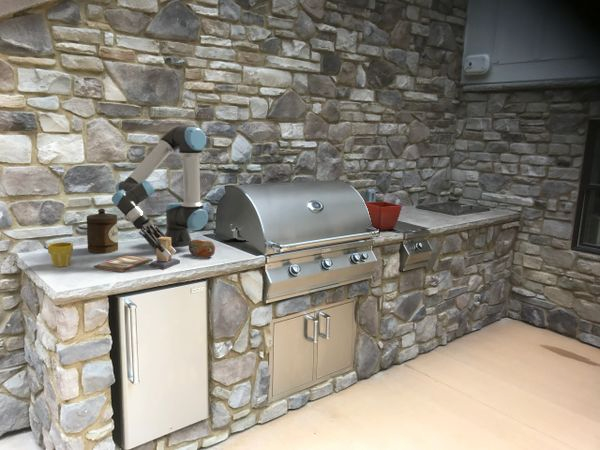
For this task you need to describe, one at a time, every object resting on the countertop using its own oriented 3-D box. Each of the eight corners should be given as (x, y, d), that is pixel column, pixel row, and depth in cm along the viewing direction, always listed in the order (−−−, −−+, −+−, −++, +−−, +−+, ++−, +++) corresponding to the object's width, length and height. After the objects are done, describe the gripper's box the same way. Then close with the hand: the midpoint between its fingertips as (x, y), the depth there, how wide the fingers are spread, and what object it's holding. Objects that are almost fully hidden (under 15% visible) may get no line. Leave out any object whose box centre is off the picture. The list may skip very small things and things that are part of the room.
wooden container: (119, 252, 252) (117, 210, 248) (87, 254, 247) (85, 211, 242) (117, 245, 266) (116, 205, 261) (88, 247, 260) (85, 206, 256)
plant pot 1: (50, 262, 230) (49, 242, 229) (74, 261, 234) (73, 241, 232) (47, 268, 221) (46, 247, 219) (73, 267, 225) (71, 246, 223)
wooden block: (161, 258, 236) (161, 236, 234) (171, 259, 235) (171, 237, 233) (156, 261, 231) (156, 238, 229) (166, 262, 230) (166, 239, 228)
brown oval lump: (188, 254, 253) (188, 238, 252) (192, 253, 256) (192, 237, 254) (212, 258, 247) (212, 242, 245) (216, 257, 250) (216, 241, 248)
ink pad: (164, 260, 241) (164, 256, 240) (179, 262, 238) (179, 258, 237) (148, 266, 230) (148, 262, 229) (164, 269, 227) (164, 265, 226)
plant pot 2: (400, 229, 334) (402, 205, 331) (378, 232, 324) (380, 207, 321) (382, 224, 350) (384, 201, 347) (361, 226, 341) (362, 202, 337)
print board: (126, 256, 245) (126, 254, 245) (152, 260, 239) (152, 258, 239) (93, 267, 225) (93, 265, 225) (121, 272, 219) (121, 269, 219)
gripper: (143, 220, 241) (174, 255, 242) (123, 227, 224) (157, 264, 224) (152, 210, 239) (184, 245, 240) (133, 216, 222) (168, 254, 222)
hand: (171, 254), depth 232 cm, fingers closed on wooden block, 5 cm apart
